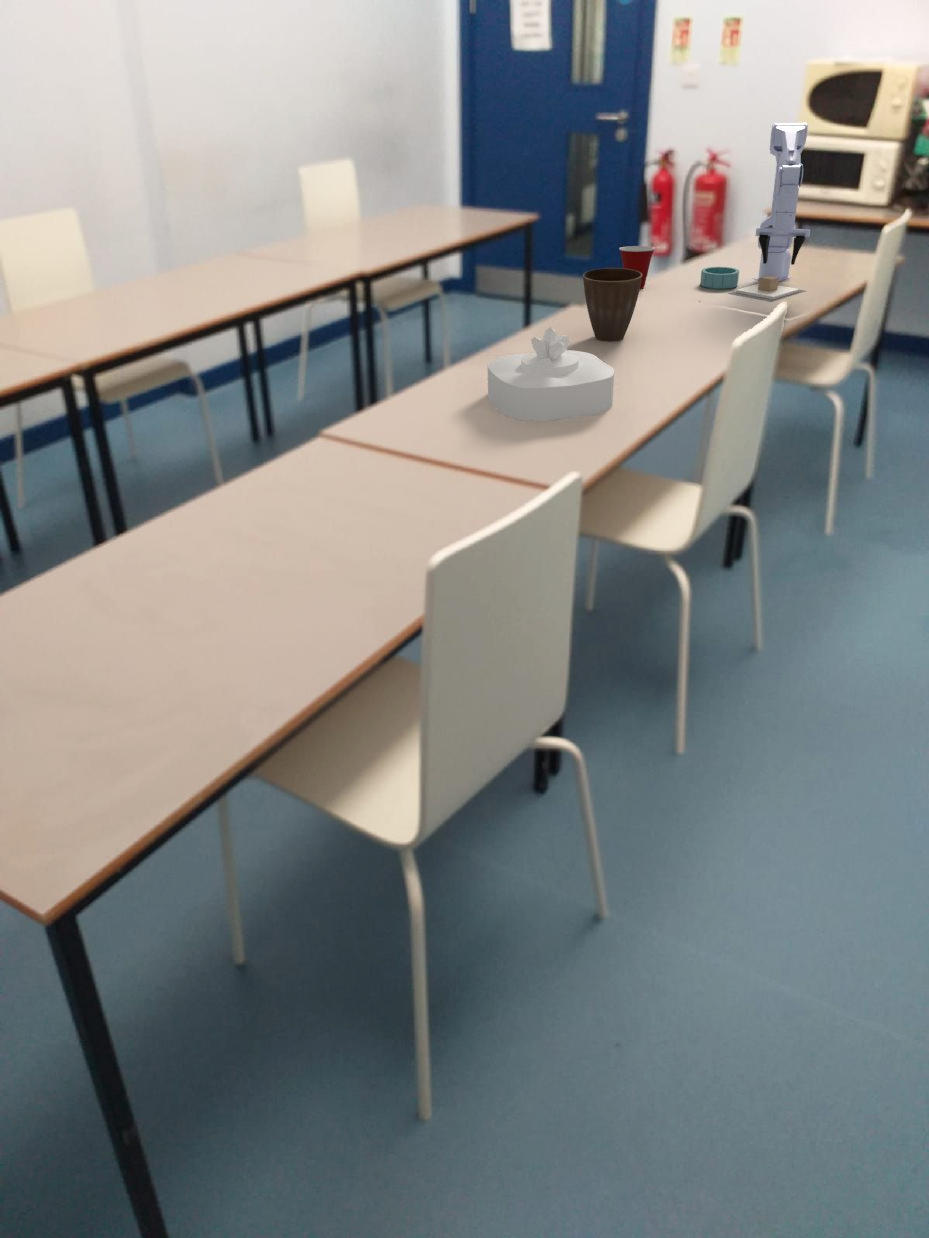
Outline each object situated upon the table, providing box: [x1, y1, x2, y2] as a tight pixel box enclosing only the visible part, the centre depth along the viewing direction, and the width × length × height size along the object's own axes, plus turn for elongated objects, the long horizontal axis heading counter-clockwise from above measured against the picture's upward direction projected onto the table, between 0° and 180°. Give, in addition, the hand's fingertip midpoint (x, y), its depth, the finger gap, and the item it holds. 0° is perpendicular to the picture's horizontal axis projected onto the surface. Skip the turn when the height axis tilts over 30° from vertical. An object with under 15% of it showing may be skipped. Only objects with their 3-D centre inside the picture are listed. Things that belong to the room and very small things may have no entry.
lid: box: [735, 275, 800, 300], centre depth 287 cm, size 13×13×4 cm
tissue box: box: [487, 326, 615, 422], centre depth 209 cm, size 25×25×16 cm
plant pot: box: [582, 267, 642, 342], centre depth 249 cm, size 15×15×16 cm
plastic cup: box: [619, 245, 656, 290], centre depth 298 cm, size 11×11×12 cm
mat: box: [728, 289, 806, 303], centre depth 288 cm, size 18×15×1 cm
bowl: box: [699, 266, 740, 290], centre depth 297 cm, size 11×11×5 cm
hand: (778, 263), depth 277 cm, fingers open, 7 cm apart
